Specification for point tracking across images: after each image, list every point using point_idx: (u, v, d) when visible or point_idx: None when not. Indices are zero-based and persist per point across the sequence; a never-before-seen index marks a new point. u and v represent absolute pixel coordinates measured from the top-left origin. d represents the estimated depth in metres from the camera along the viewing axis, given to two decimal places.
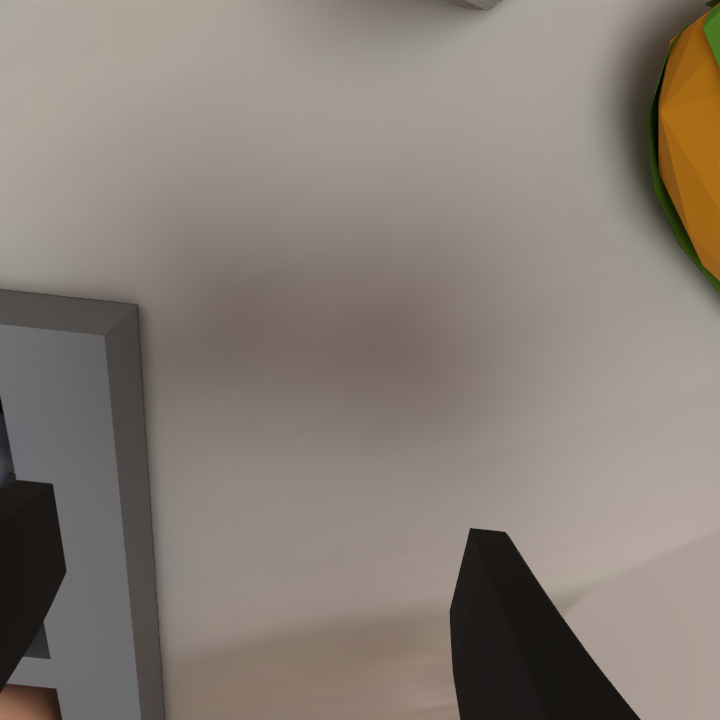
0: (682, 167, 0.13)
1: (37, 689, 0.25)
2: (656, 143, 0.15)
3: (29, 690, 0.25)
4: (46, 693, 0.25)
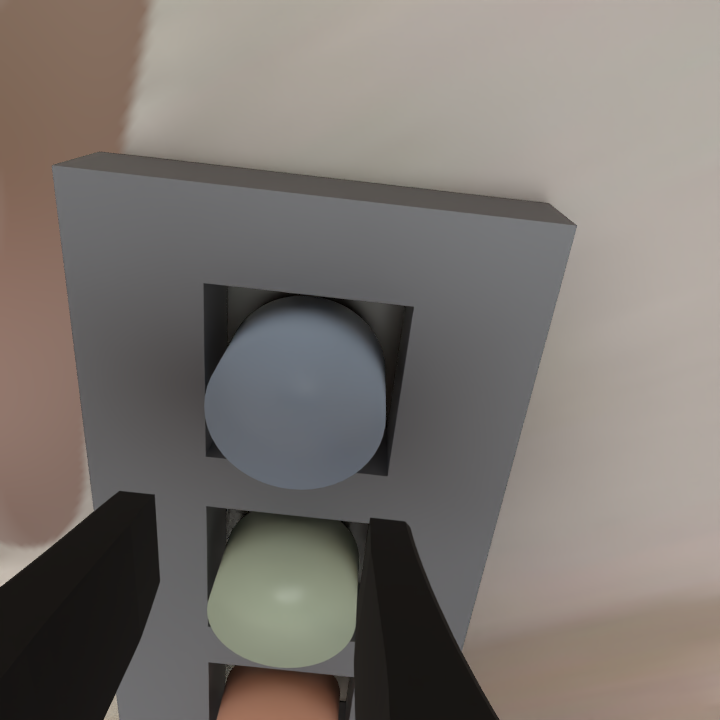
0: None
1: (322, 678, 0.21)
2: None
3: (316, 680, 0.21)
4: (329, 683, 0.22)
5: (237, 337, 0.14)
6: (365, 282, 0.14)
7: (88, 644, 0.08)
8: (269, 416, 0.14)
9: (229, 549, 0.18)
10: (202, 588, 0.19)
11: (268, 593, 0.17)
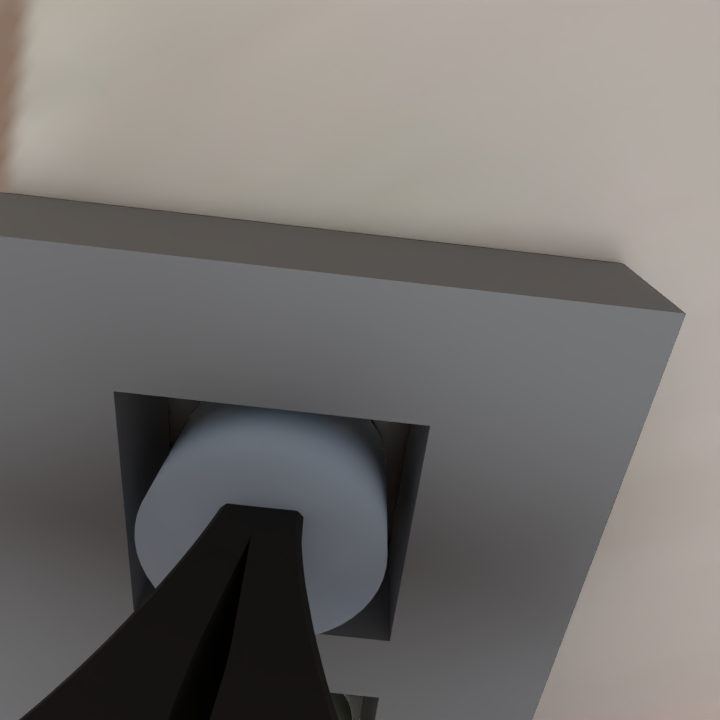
0: None
1: None
2: None
3: None
4: None
5: (182, 439, 0.11)
6: (357, 392, 0.09)
7: (220, 657, 0.08)
8: None
9: None
10: None
11: None
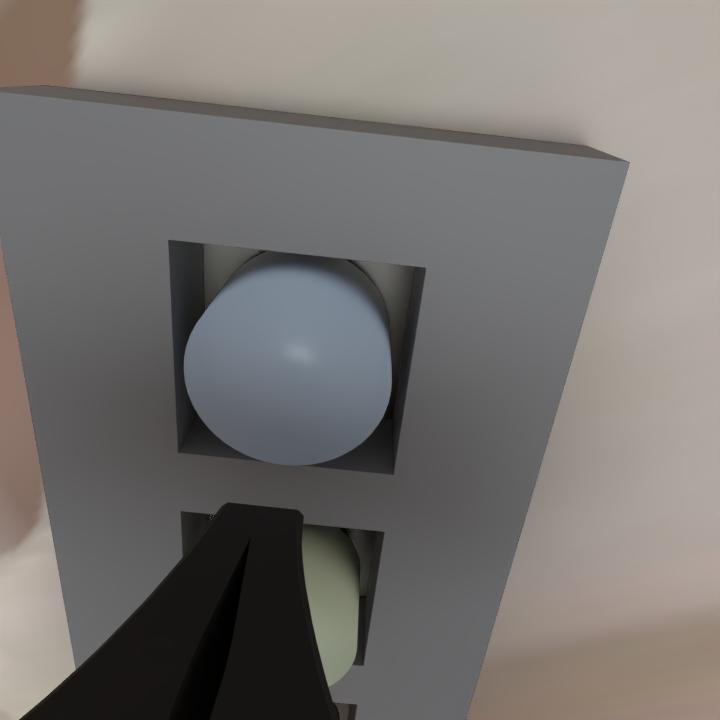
0: None
1: None
2: None
3: None
4: None
5: (221, 290, 0.13)
6: (366, 237, 0.12)
7: (220, 657, 0.08)
8: (259, 380, 0.12)
9: None
10: None
11: None
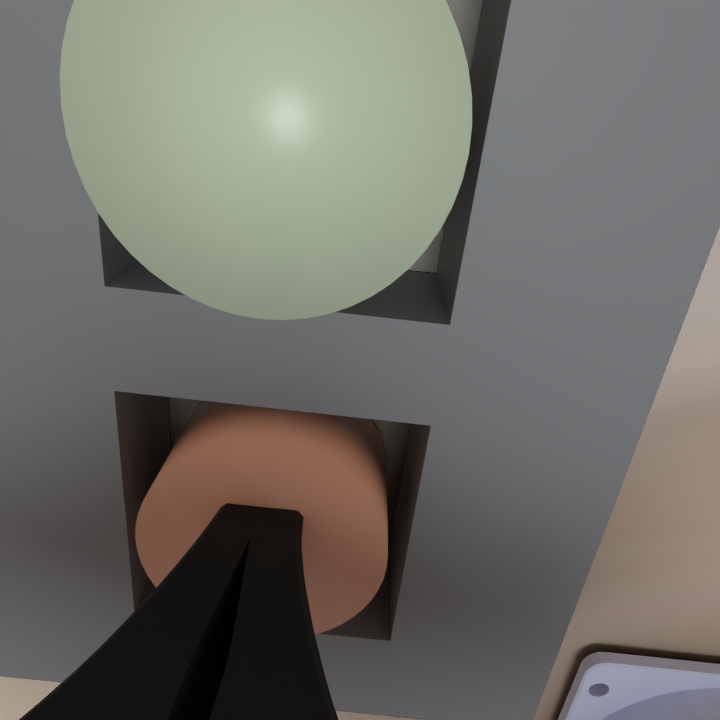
0: None
1: (358, 421, 0.11)
2: None
3: (346, 417, 0.11)
4: (371, 434, 0.12)
5: None
6: None
7: (220, 658, 0.08)
8: None
9: None
10: None
11: (226, 22, 0.06)
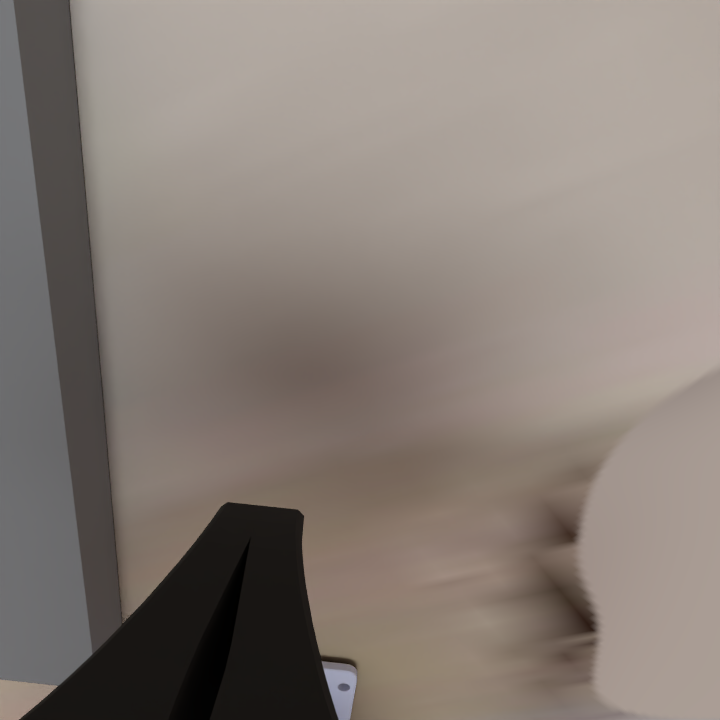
0: None
1: None
2: None
3: None
4: None
5: None
6: None
7: (220, 657, 0.08)
8: None
9: None
10: None
11: None
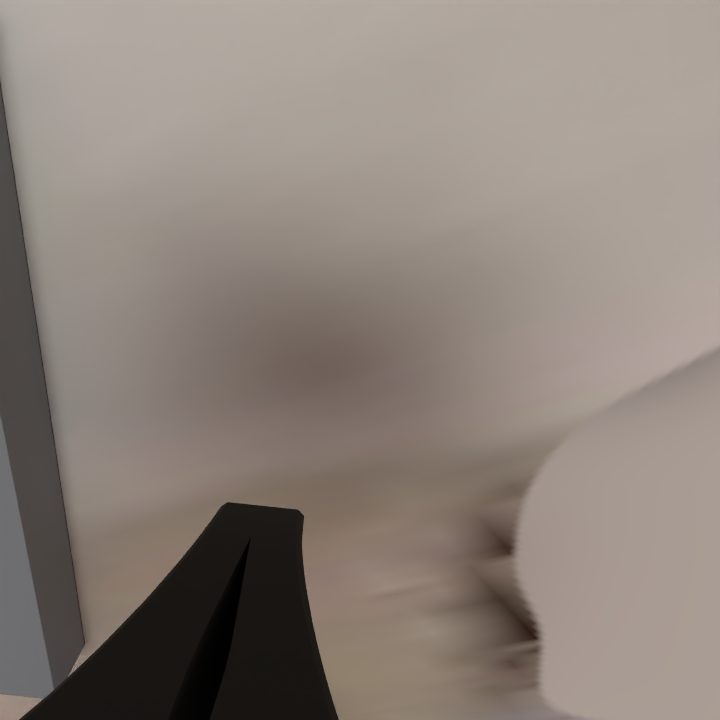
0: None
1: None
2: None
3: None
4: None
5: None
6: None
7: (220, 658, 0.08)
8: None
9: None
10: None
11: None
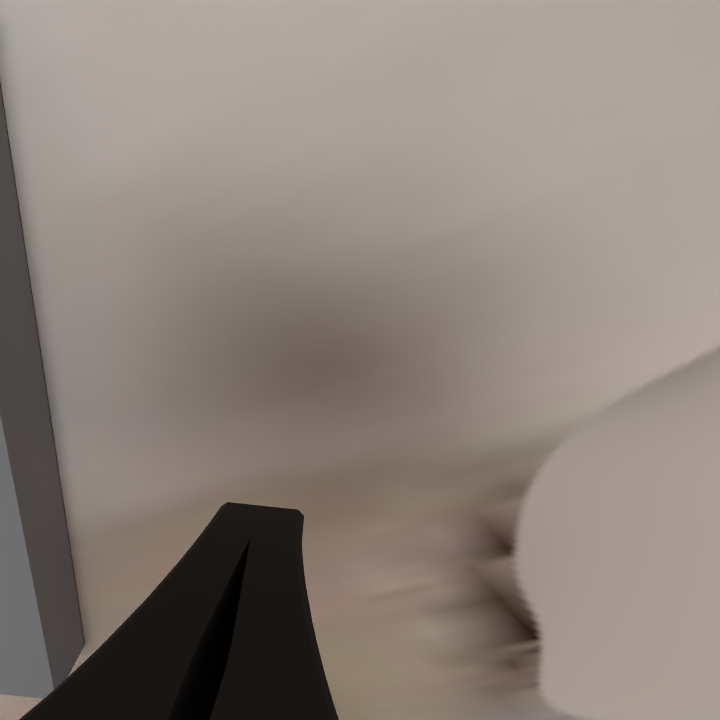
0: None
1: None
2: None
3: None
4: None
5: None
6: None
7: (220, 658, 0.08)
8: None
9: None
10: None
11: None
